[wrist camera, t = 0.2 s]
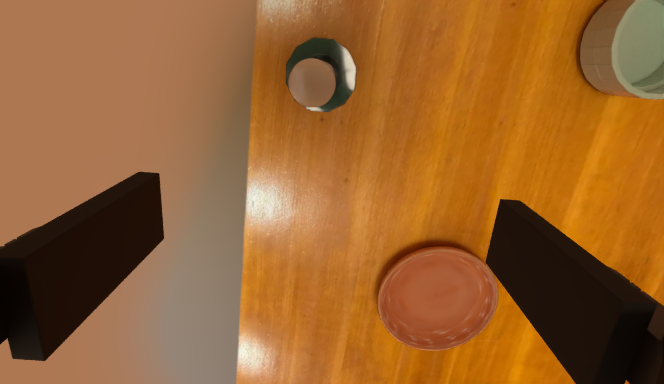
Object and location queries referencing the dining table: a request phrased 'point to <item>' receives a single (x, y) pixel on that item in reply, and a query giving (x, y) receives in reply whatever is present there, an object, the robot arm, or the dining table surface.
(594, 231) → the dining table surface
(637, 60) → the bowl
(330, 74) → the stick
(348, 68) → the holder
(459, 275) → the saucer
